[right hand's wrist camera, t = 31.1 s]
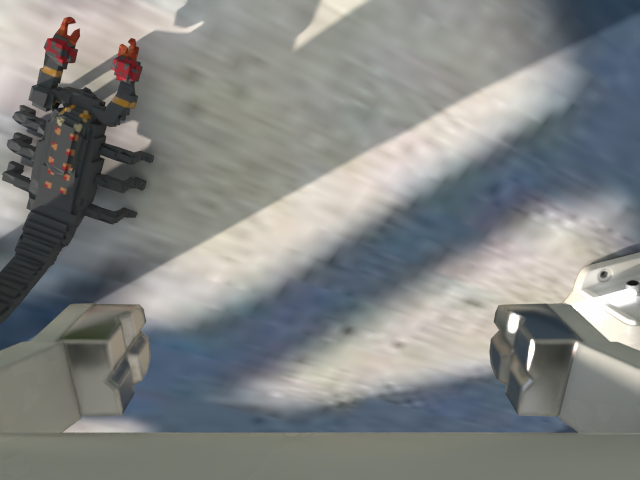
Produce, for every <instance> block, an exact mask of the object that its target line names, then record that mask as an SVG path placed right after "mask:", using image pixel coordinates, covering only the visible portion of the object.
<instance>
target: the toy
mask: <svg viewBox="0 0 640 480" xmlns="http://www.w3.org/2000/svg"><path fill="white" fill-rule="evenodd" d="M73 23H76V22H75V20H74V19H73V18H72V17H67V18H64V20H63V22H62V24H61V27H60V29H59V30H58V31H57V32H56V33H55V35H54V37H53V38H48V39H47V41H46V43H45V46H44V49H45V50H46V53H45V60H44V67H43V68H40V72H39V77H38V82H37V85H34V86H32V88H31V92H30V96H29V100H30V101H32V102H33V104H32V105H33V106H35V107H37V108H39V109H41V110H44V111H46V112H47V111H49V110H52V114H51V119H50V120H49V121H45V120H43V119H41V118H38V117H36V116H35V113H36V111H35V110H34V109H31V108H29V107H27V106H24V105H20V111H18V112H15V113H14V115H13V117H12V118H13V119H14V120H15V121H16V122H18V123H19V124H20V125H22V126H25V127H27V128H29V129H31V130H33V131H36V132H38V133H40V134H42V135H43V139H42V140H39V141H37V145H36V147H34V146H32V145H30V144H31V143H32V138H31V137H28V136H26V135H23V134H21V133H18V132H17V133H14V136H13V139H11V140H8V143H7V147H8V148H9V149H10V150H11V151H13V152H14V153H16V154H18V155H21V156H23V157H25V158H27V159H29V160H32V161H34V163H33V169H32V175H31V180H30V178H28V177H25V176H23V175H21V174H22V173H23V171H24V170H23V168H24V165H21V164H19V163H16V162H14V161H11V162H9V164H8V169H7V171H5V172H3V174H2V175H3V177H2V180H3V181H6V182H8V183H11V184H13V185H14V186H16V187H18V188H20V189H22V190H25V191H27V192H29V201H28V204H27V209H29V210H31V212H30V213H29V215H28V217H27V219H26V222H25V224H24V227H23V233H22V235H21V236H20V238H19V241H18V243H17V246H16V248H15V251H16V254H15V256H14V257H13V258H12V260H11V261H10V262H9V263H8V264H7V265H6V266H5V267H4V268H3V270H2V271H1V272H0V324H1V323H2V322H3V321H5V320H6V319H7V318H8V316H9V315H10V314H11V313H12V312H13V311H14V309H15V308H16V307H17V306H18V305H19V304H20V303H21V302H22V300H23V299H24V298H25V297H26V295H27V294H28V293H29V292H30V290H31V289H32V288H33V287H34V285H35V284H36V283H37V282H38V281H39V279H40V278H41V277H42V276H43V275H44V273H45V272H46V271H47V269H48V268H49V267H50V266H51V265H53V264H54V261H56V258H57V255H59V252H60V251H61V250H62V248H63V247H65V246H67V245H68V244H69V243H70V241H71V240H72V238H73V236H74V233H75V231H76V228H77V227H78V226H79V224H80V223H81V221H82V219H83V217H84V216H88V217H91V218H94V219H97V220H100V221H103V222H107V223H110V224H114V223H117V222H118V221H120V220H121V219H122V218H124V217H131V218H135V217H136V214H137V213H136V212H133V211H131V210H128V209H126V208H122V209H120V210H118V211H115V212H114V211H110V210H107V209H104V208H101V207H98V206H96V205H94V204H91V203H92V202H93V199H94V196H95V193H96V189H97V187H96V186H97V184H98V185H100V186H103V187H106V188H109V189H112V190H115V191H118V192H121V193H124V192H125V191H127V190H128V189H129V188H137V189H140V190H144V188H145V185H146V181H143V180H141V179H138V178H134V179H132V178H129V179H128V180H126V181H122V180H119V179H116V178H113V177H110V176H108V175H103V174H101V171H102V167H103V163H104V159H103V158H101V157H100V155H103V156H105V157H108V158H111V159H113V160H116V161H119V162H123V163H127V164H134V163H136V162H138V161H140V160H144V161H147V162H150V163H151V162H153V158H154V156H151V155H149V154H147V153H144V152H142V151H138V152H134V153H133V152H131V151H128V150H125V149H122V148H119V147H116V146H113V145H109V144H106V143H105V140H106V136H105V135H104V134H105V130H106V127H107V126H109V127H116V126H117V125H120V120H125V118H126V115H129V112H130V108H135V106H136V102H137V98H138V96H137V95H135V88H134V83H135V81H137V82H138V81H139V78H140V74H141V71H142V68H143V67H142V66H140V62H138V61H136V59H137V55H138V50H139V48H138V47H136V41H135V39H132V38H131V39H130V40H129V41H128V42H129V43H130V44H131V46H130V48H129V50H128V49H127V46H125V45H123V44H121V45H120V47H119V53H118V57H117V58H115V59H114V61H113V64H112V68H111V69H112V70H114V71H115V73H114V75H116V76H117V78H116V80H120V81H121V82H120V86H119V89H118V92H117V94H116V95H115V97H114V98H113V99H112V101H111V102H110V103H109V104H108V105H107V107H105V102H103V101H101V100H99V99H97V97H96V96H95V95H94V94H93V93H92V91H91V90H90V89H88V88H86V87H85V88H84V89H75V88H71V87H66V88H60V87H57V86H58V83H59V84H60V81H61V77H62V73H63V69H67V65H68V63H75V61H76V56H77V52H78V49H75V45H76V42H77V40H78V39H79V37H80V28H79V29H77V30H75V31H74V32H73V33H72V35H71V36H68V35H67V29H68V24H73ZM60 104H63V106H64V107H63V108H58V106H59V105H60ZM98 120H99V121H101V122H99V121H98Z"/></svg>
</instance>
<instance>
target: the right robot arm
mask: <svg viewBox="0 0 640 480" xmlns="http://www.w3.org/2000/svg"><path fill="white" fill-rule="evenodd" d="M602 272H604V273H603V274H602V275H600V274H601V273H602ZM145 323H146V319H145V314H144V309H143V308H142V307H141V306H140V305H139V304H95V303H85V304H70V305H69V306H68V307H67V308H66V309H65V310H63V311H62V312H61V313H60V314H59V315H58V316H57V317H56V318H55V319H54V320H53V321H52V322H50V323H49V324H48V325H47V326H46V327H45V328H44V329H43V330H42V331H41V332H40V333H39V334H37V335H36V336H35V337H34V338H33V339H32V340H31V341H30V342H20V343H18V344H15V345H13V346H11V347H8V348H6V349H3V350H1V351H0V480H640V252H638V253H635V254H631V255H627V256H623V257H619V258H615V259H611V260H607V261H603V262H599V263H595V264H591V265H588V266H586V267H584V268H583V269H582V270H581V272H580V273H579V275H578V277H577V280H576V283H575V286H574V289H573V291H572V293H571V294H570V296H569V297H568V298H567V299H566V300H565V302H564V303H557V304H511V305H499V306H498V308H497V310H496V312H495V318H494V323H495V324H496V326H497V327H498V329H499V331H498V332H497V333H496V334H495V335H494V336H493V337H492V338H491V343H490V362H491V366H492V369H493V372H494V374H495V376H496V378H497V380H499V381H501V382H502V383H504V384H505V385H507V387H506V393H505V394H506V395H507V397H508V399H509V400H510V402H511V404H512V405H513V407H514V409H515V411H516V412H517V414H518V415H527V416H559V419H561V420H562V421H564V422H565V423H566V424H568V425H569V426H570V427H572V428H573V429H574V430H576V431H577V432H578V433H62V432H63V431H65V430H66V429H67V428H69V427H70V426H71V425H73V424H74V423H75V422H77V421H78V420H79V419H81V416H112V415H122V414H123V412H124V411H125V409H126V407H127V406H128V404H129V402H130V400H131V399H132V397H133V395H134V394H135V393H134V387H133V385H135V384H136V383H138V382H139V381H141V380H143V378H144V376H145V374H146V372H147V370H148V365H149V361H150V343H149V338H148V337H147V336H146V335H145V334H144V333H143V332H142V331H141V329H142V328H143V326H144V324H145Z"/></svg>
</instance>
